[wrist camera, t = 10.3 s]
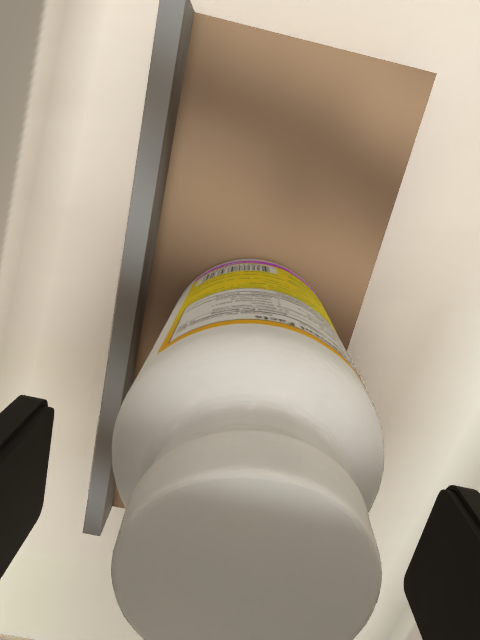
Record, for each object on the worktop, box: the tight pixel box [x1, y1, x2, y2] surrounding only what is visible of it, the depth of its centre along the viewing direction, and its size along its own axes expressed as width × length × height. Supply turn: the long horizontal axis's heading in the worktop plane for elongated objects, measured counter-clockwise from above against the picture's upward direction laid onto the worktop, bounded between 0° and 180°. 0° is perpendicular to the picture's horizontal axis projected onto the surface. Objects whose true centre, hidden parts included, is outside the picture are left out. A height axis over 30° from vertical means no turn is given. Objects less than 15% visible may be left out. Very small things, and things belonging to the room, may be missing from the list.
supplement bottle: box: [111, 259, 384, 640], centre depth 14 cm, size 7×7×13 cm
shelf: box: [83, 0, 437, 536], centre depth 20 cm, size 22×10×4 cm, turn 167°
